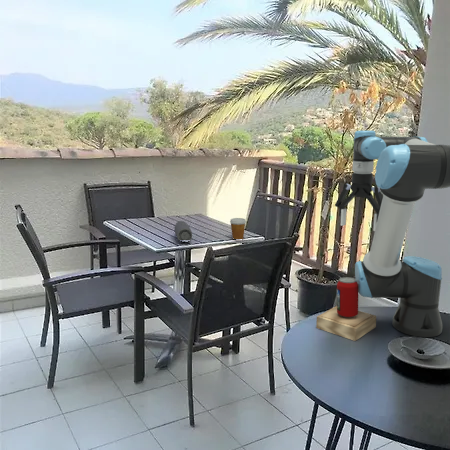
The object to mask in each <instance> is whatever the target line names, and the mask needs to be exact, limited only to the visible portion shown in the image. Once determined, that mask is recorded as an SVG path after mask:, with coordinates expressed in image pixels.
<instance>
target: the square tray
mask: <svg viewBox="0 0 450 450" xmlns="http://www.w3.org/2000/svg"><path fill="white" fill-rule="evenodd" d="M315 326H316V327H315V328H316V329H318V330H321V331H325V332H328V333H330V334H334V335H336V336H339V337H342V338H345V339H348V340H351V341H353V342H356V341H358V340H359V339H360V338H362V337H363V336H365V335H367V334H368V333H369V332H371V331H373V330H374V329H375V328H376V327H377V315H376V314H375V315H374V314H372V313H369V312H365V311H361V310H358V314H357V315H356V316H354V317H350V318H347V317H342V316H340V315H339V314H338V313H337V305H336V306H334V307H331V308H330V309H328V310H326V311H325V312H323V313H321V314H318V315H317V316H316V325H315Z"/></svg>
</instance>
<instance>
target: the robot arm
mask: <svg viewBox="0 0 450 450" xmlns="http://www.w3.org/2000/svg"><path fill="white" fill-rule="evenodd" d="M376 135H377V134H376V131H375V130H356V131H355V132H354V136H353V154H352V155H353V156H352V173H351V184H350V183H345V184H343V188H342V191H341V192H340V194H339V196H338V198H337V200H336V202H335V204H334V206H335V207H336V208H338V209H339V213H338V216H339V218H340V226H346V224H347V223H346V222H347V208H346V206H347V205H349V204H350V203H351V201H352V200H353V199H354V198H362V199H363V198H365V199H366V200H367V201H368V202H369V204H370V205H371V207H372V209H373V210H374V211H375V213H374V215H373V217H374V218H373V228H372V229H373V232H374V234H373V238H372V242H371V246H370V250H369V251H368V252H367V253H365V254H364V256H363V257H362V258H363V259H362V260H359V261H356V262H355V264H354V276H355V278H354V279H356V281H357V283H358V295H360V296H361V297H363V298H370V299H399V303H398V306H397V308H396V310H395V312H394V315H393V317H392V326H393V328H395V330H397V331H398V332H401V333H403V334H405V335H408V336H413V337H419V338H432V337H438V336H439V335H441V334H442V332H443V321H442V318H441V314H440V309H439V305H440V303H439V302H440V293H441V288H442V287H441V284H442V280H443V277H442V275H443V274H442V273H443V271H442V266H441V265H440V264H439V263H438V262H436V261H435V260H432V259H428V258H424V257H421V256H420V257H419V256H414V255H408V256H404V257H403V259H402V261H401V259H400V255H401V251H402V248H403V245H404V241H405V238H406V235H407V230H408V228H409V227H408V226H409V224H410V220H411V217H412V213H413V210H414V207H415V204H416V202H419V201H420V200H421V199H422V198H423V197H424V193H425V190H427V189H428V190H436V189H437V190H442V189H446V188H450V144H435V143H431V142H429V141H428V139H427V138H426V137H424V136H418V135H417V136H415V135H413V136H376ZM375 160H377V162H376V165H375V173H374V174H375V175H374V174H373V172H374V164H375V163H374V161H375ZM373 178H374V179H375V184H376V186H373V181H374V180H373ZM349 190H351V192H350V194H349V195H347V194H348V193H349ZM372 192H373V194H374V195H373V194H372ZM346 196H347V197H346ZM374 196H375V198H376V199H375V198H374Z"/></svg>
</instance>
